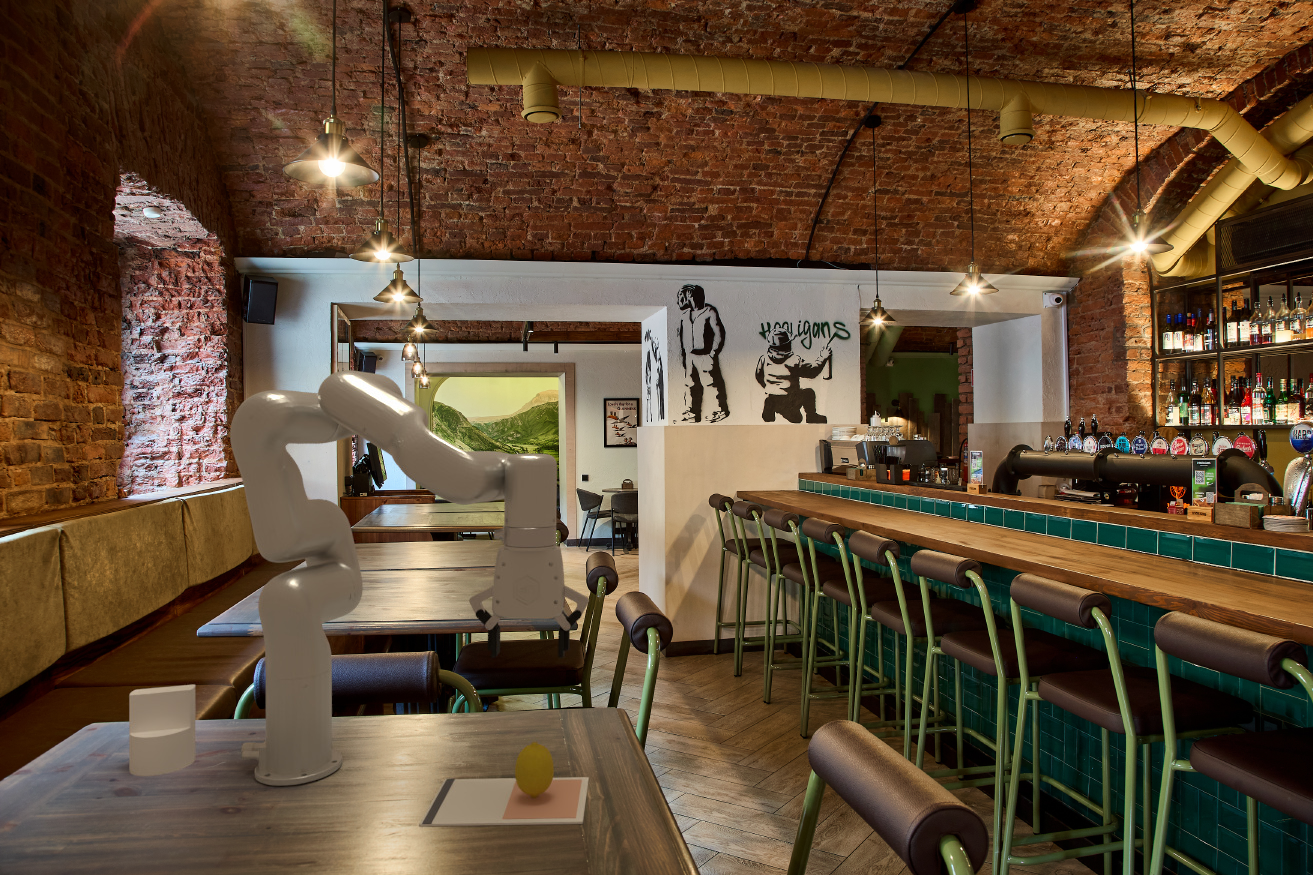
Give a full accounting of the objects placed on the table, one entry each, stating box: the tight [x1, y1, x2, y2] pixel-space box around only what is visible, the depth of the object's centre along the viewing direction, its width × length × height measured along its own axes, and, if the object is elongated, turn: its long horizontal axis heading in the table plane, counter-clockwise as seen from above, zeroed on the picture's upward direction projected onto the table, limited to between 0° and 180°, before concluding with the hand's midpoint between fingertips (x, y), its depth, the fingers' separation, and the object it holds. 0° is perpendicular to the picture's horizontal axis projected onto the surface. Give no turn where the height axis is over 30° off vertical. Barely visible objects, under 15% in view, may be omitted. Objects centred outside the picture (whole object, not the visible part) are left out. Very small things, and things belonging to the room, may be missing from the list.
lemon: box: [514, 741, 555, 798], centre depth 113 cm, size 6×6×8 cm
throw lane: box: [418, 776, 590, 827], centre depth 113 cm, size 22×14×1 cm, turn 92°
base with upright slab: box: [128, 684, 196, 777], centre depth 126 cm, size 9×9×12 cm
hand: (528, 655), depth 114 cm, fingers open, 9 cm apart
